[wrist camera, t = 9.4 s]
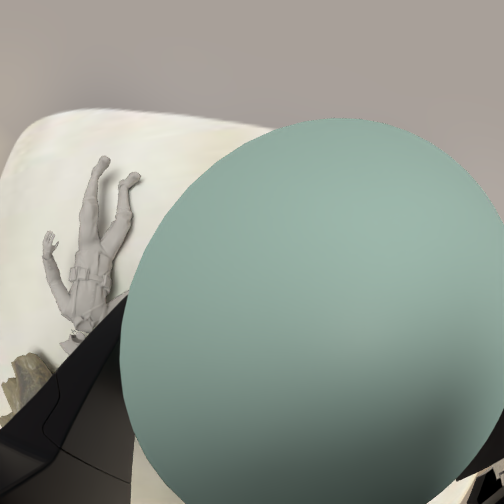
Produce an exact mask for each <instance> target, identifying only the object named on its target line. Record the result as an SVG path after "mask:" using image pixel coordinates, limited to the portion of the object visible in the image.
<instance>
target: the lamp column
mask: <svg viewBox="0 0 504 504" xmlns="http://www.w3.org/2000/svg"><path fill="white" fill-rule="evenodd" d="M120 372H121V381H122V390H123V397H124V401H125V405H126V408H127V412H128V415H129V419H130V422H131V425H132V428H133V431H134V433H135V435H136V438H137V440H138V442H139V444H140V446H141V448H142V450H143V452H144V454H145V456H146V458H147V459H148V461H149V462H150V464H151V465H152V466H153V468H154V469H155V471H156V472H157V473H158V475H159V476H160V477H161V479H162V480H163V481H164V483H165V484H166V485H167V486H168V487H169V488H170V489H171V490H172V491H173V492H174V493H175V494H176V495H177V496H178V497H179V498H180V499H181V500H182V501H184V502H185V503H186V504H427V503H428V502H429V501H431V500H432V499H433V498H434V497H436V496H437V495H438V494H440V493H441V492H442V491H443V490H444V489H445V488H446V487H447V486H449V485H450V484H451V483H452V482H453V481H454V480H455V479H456V478H457V477H458V476H459V475H460V474H461V473H462V472H463V470H464V469H465V468H466V467H467V466H468V465H469V463H470V462H471V461H472V460H473V459H474V457H475V456H476V455H477V453H478V452H479V450H480V449H481V448H482V446H483V445H484V443H485V442H486V440H487V439H488V437H489V435H490V434H491V432H492V430H493V429H494V427H495V425H496V423H497V421H498V419H499V417H500V415H501V413H502V411H503V409H504V224H503V222H502V220H501V219H500V217H499V215H498V213H497V211H496V209H495V208H494V206H493V204H492V203H491V201H490V200H489V198H488V197H487V195H486V194H485V193H484V191H483V190H482V188H481V187H480V186H479V185H478V183H477V182H476V181H475V180H474V179H473V178H472V177H471V175H470V174H469V173H468V172H467V171H466V170H465V169H464V168H463V167H462V166H461V165H459V164H458V163H457V162H456V161H455V160H454V159H452V157H450V156H449V155H448V154H446V153H445V152H443V151H442V150H441V149H439V148H438V147H436V146H435V145H433V144H432V143H430V142H428V141H426V140H424V139H423V138H420V137H419V136H417V135H415V134H412V133H410V132H408V131H405V130H403V129H400V128H397V127H394V126H391V125H388V124H384V123H379V122H374V121H368V120H362V119H347V118H330V119H321V120H313V121H305V122H301V123H297V124H294V125H290V126H286V127H283V128H279V129H276V130H273V131H271V132H269V133H267V134H264V135H262V136H260V137H258V138H256V139H253V140H251V141H249V142H247V143H245V144H243V145H242V146H240V147H239V148H237V149H236V150H234V151H233V152H231V153H230V154H228V155H226V156H225V157H223V158H222V159H220V160H219V161H217V162H216V163H215V164H214V165H213V166H212V167H210V168H209V169H208V170H207V171H206V172H205V173H204V174H203V175H201V176H200V177H199V178H198V179H197V180H196V181H195V182H194V183H193V184H192V185H190V186H189V187H188V189H187V190H186V191H185V192H184V193H183V195H182V196H181V197H180V198H179V199H178V201H177V202H176V203H175V204H174V206H173V207H172V208H171V209H170V210H169V212H168V213H167V214H166V215H165V217H164V218H163V220H162V222H161V223H160V225H159V227H158V228H157V230H156V232H155V233H154V235H153V237H152V239H151V240H150V242H149V244H148V245H147V247H146V249H145V251H144V253H143V256H142V258H141V261H140V263H139V265H138V268H137V270H136V273H135V276H134V278H133V281H132V283H131V286H130V290H129V294H128V298H127V302H126V307H125V311H124V316H123V321H122V327H121V342H120Z"/></svg>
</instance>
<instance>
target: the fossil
mask: <svg viewBox="0 0 504 504" xmlns="http://www.w3.org/2000/svg"><path fill="white" fill-rule="evenodd" d="M11 363H12V367H13V370H14V373H15V376H16V378H8V382H6V383H4V382H3V383H2V385H1V386H2V388H3V391H4V393H5V396H6V398H7V400H8V403H9V405H10V407H11V409H12V412H11V413H10V414H8V415H7V416H2V417H1V418H0V425H1V426H2V427H4V426H5V425H6V423H7V422H8V421H9V420H10V419H11V418H12V417H13V416H14V415H15V414H16V413H17V412H18V411H19V410H20V409H21V408H22V407H23V406H24V405H25V404H26V403H27V402H28V401H29V400H30V399H31V398H32V397H33V396H34V395H35V394H36V393H37V392H38V391H39V390H40V388H41V387H42V386H43V385H44V384H45V383H46V382H47V381H48V379H49V378H50V377H51V376H52V374H51V372H50V371H49V369H48V368H47V367H46V365H45V364H44V363H43V361H42V360H41V359H40V358H39V357H38V356H37V355H36V354H32V353H28V354H27V355H26V356H25V355H22V356H19V357H17V358H16V359H15V361H14V362H11Z"/></svg>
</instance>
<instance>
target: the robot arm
mask: <svg viewBox="0 0 504 504" xmlns="http://www.w3.org/2000/svg"><path fill="white" fill-rule="evenodd" d="M127 298H128V295H126V296H125V297H124V298H123V299H122V300H121V301H120V302H119V303H118V304H117V305H116V306H115V307H114V308H113V309H112V310H111V311H110V312H109V313H108V314H107V316H106V317H105V318H104V319H103V320H102V321H101V322H100V323H99V324H98V325H97V326H96V327H95V328H94V329H93V330H92V331H91V332H90V334H89V335H88V336H87V337H86V338H85V339H84V340H83V341H82V342H81V343H80V344H79V345H78V347H77V348H76V349H75V350H74V351H73V352H72V353H71V354H70V355H69V357H68V358H67V359H66V360H65V361H64V362H63V363H62V364H61V366H60V367H59V368H58V369H57V370H56V373H54V374H53V375H52V376H51V377H50V378H49V379H48V381H47V382H46V383H45V384H44V385H43V386H42V387H41V388H40V390H39V391H38V392H37V393H36V394H35V395H34V396H33V397H32V398H31V399H30V400H29V401H28V402H27V403H26V404H25V405H24V406H23V407H22V408H21V409H20V410H19V411H18V412H17V413H16V414H15V415H14V416H13V417H12V418H11V419H10V420H9V421H8V422H7V423H6V425H5V426H4V427H2V428H1V429H0V504H130V502H131V477H132V462H133V450H134V439H135V433H134V431H133V428H132V425H131V422H130V419H129V415H128V412H127V408H126V405H125V401H124V397H123V390H122V381H121V372H120V342H121V327H122V321H123V316H124V311H125V307H126V302H127ZM491 465H492V467H491V468H489V469H488V470H486V471H485V472H484V473H482V474H481V475H480V476H478V477H477V478H476V481H475V483H474V486H473V489H472V491H471V494H470V496H469V499H468V501H467V504H504V409H503V411H502V413H501V415H500V417H499V419H498V421H497V423H496V425H495V427H494V429H493V430H492V432H491V434H490V435H489V437H488V439H487V440H486V442H485V443H484V445H483V446H482V448H481V449H480V450H479V452H478V453H477V455H476V456H475V457H474V459H473V460H472V461H471V462H470V463H469V465H468V466H467V467H466V468H465V469H464V470H463V472H462V473H461V474H460V475H459V476H458V477H457V478H456V481H459V480H462V479H464V478H466V477H468V476H471V475H473V474H475V473H477V472H479V471H481V470H483V469H485V468H487V467H489V466H491Z"/></svg>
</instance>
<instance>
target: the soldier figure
mask: <svg viewBox="0 0 504 504" xmlns="http://www.w3.org/2000/svg"><path fill="white" fill-rule="evenodd" d="M109 164H110V158H108V157H107V156H102V157H101V158H100V159H99V161H98V164H97V165H96V166H95V167H94V168H93V170H92V174H91V178H90V180H89V183H88V186H87V189H86V192H85V194H84V198H83V205H82V208H81V210H80V213H79V221H80V228H79V241H78V245H79V251H78V252H77V253H76V254H75V267H73V268H71V269H70V276H69V281H70V282H73V285H72V287H71V289H70V291H69V293H68V291H67V289H66V287H65V286H64V285H63V282H62V281H61V277H60V272H59V269H58V267H57V264H56V262H55V260H54V258H53V256H52V253H53V251H54V250H55V249H56V247H57V246H58V243H59V241H58V242H57V243H56V245H55V246H53V245H52V242H53V239H54V237H55V234H53V236H52V233H53V232H51V231H48V232H47V233H46V235H45V237H44V240H43V256H42V258H43V263H44V267H45V272H46V278H47V282H48V283H49V286H50V288H51V291H52V294H53V295H54V297H55V299H56V303H57V305H58V307H59V310H60V311H61V313H62V314H61V315H62V316H64V317H65V318H67V319H68V320H69V321H71V322H72V323H74V327H75V329H76V330H78V331H83V332H86V333H89V332H91V331H92V330H93V328H94V327H96V326H97V325H98V324H99V323H100V322H101V321H102V320H103V319H104V318H105V317H106V316H107V314H108V313H109V312H110V311H111V310H112V309H113V308H114V307H115V306H116V305H117V304H118V303H119V302H120V301H121V300H122V299H123V298H124V297H125V296H126V295H128V294H129V290H128V291H126V292H124V293H122V294H121V295H119V296H117V297H116V298H115V299H114V300H111V301H110V302H108V303H106V296H107V295H109V292H110V289H111V285H112V280H111V277H110V272H111V269H112V261H113V259H114V257H115V256H116V254H117V252H118V250H119V248H120V246H121V245H122V243H123V241H124V238H125V236H126V234H127V232H128V230H129V229H130V227H131V222H130V219H131V218H132V215H133V213H132V212H131V210H130V206H129V200H128V189H129V188H130V187H131V186H132V185H134V184H135V183H137V182H138V181H139V179H140V177H141V175H140V174H139V173H137V172H132V173H130V174H129V176H128V177H127V178H126V179H125V180H121V181H120V182H119V185H118V190H119V194H118V205H117V212H116V213H117V214H116V215H115V217H116V220H115V221H113V222H112V223H111V226H110V228H109V229H108V230H107V231H106V233H105V234H104V235H103V237H102V238H101V239H100V238H99V234H98V228H97V222H98V215H99V206H98V201H97V192H98V179H99V177H100V176H101V175H102V173H103V172H104V171H105V170H106V169H107V168H108V166H109ZM50 232H51V233H50ZM49 234H50V235H49ZM48 236H49V237H48ZM51 236H52V237H51ZM50 238H51V239H50ZM49 241H50V242H49ZM71 331H73V330H72V329H71ZM73 332H76V331H75V330H74V331H73ZM73 332H72V333H73ZM73 334H74V333H73ZM84 339H85V336H84V334H83V333H81V332H78V333H76V335H71V334H70V336H69V340H67V341H65V342H61V343H59V344H60V346H61V347H62V348H63V350H64V351H65V352H66V353H68V354H69V355H70V354H71V353H72V352H73V351H74V350H75V349H76V348H77V347H78V345H79V344H80V343H81V342H82V341H83V340H84Z"/></svg>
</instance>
